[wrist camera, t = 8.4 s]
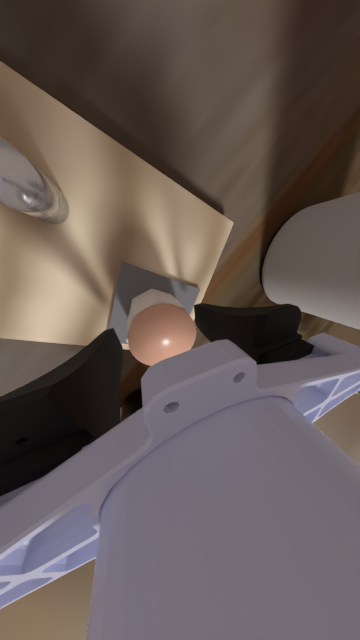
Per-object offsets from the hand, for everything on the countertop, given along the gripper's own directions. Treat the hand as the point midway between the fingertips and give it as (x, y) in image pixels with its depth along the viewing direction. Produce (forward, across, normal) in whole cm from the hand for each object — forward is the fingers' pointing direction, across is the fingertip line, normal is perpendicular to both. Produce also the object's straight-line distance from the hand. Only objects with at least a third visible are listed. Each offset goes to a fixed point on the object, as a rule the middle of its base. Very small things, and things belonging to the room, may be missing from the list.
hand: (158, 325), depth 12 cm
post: (+3, +5, -10) cm, 11 cm away
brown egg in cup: (+3, 0, 0) cm, 3 cm away
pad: (+3, 0, 0) cm, 3 cm away
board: (+4, +3, -5) cm, 7 cm away
